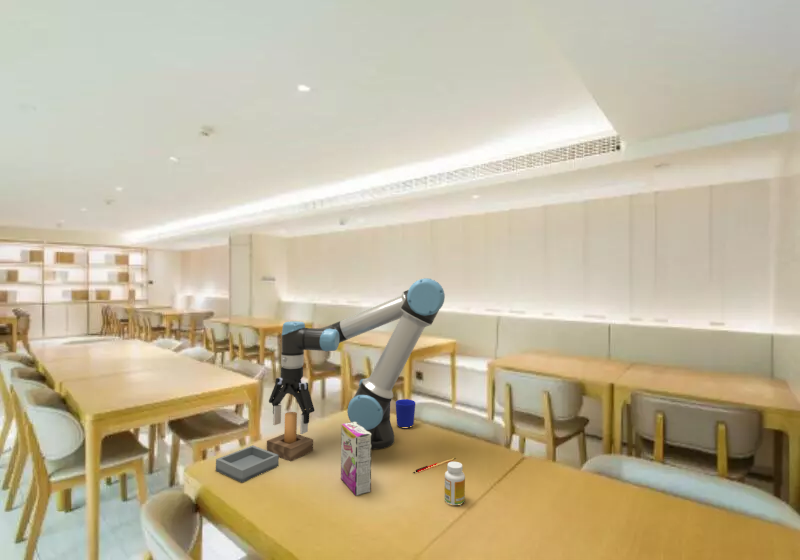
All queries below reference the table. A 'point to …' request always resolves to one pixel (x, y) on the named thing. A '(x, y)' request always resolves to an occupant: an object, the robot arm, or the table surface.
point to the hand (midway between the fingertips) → (290, 428)
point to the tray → (246, 463)
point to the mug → (405, 412)
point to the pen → (423, 468)
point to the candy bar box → (356, 457)
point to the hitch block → (290, 447)
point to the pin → (290, 427)
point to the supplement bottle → (454, 484)
